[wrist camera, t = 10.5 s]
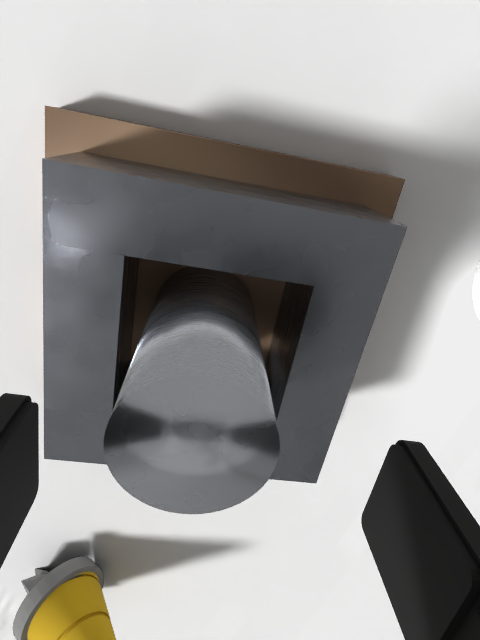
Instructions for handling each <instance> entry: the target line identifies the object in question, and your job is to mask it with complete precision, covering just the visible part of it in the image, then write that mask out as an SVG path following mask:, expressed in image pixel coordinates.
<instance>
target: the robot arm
mask: <svg viewBox="0 0 480 640" xmlns="http://www.w3.org/2000/svg"><path fill="white" fill-rule="evenodd" d="M38 484H39V459H38V404H37V403H33V402H31V398H30V396H25V395H17V394H8V393H5V394H3V395H2V396H1V397H0V568H1V566H2V564H3V562H4V560H5V558H6V556H7V554H8V552H9V550H10V548H11V546H12V544H13V542H14V540H15V538H16V536H17V534H18V532H19V530H20V528H21V526H22V524H23V522H24V520H25V518H26V516H27V514H28V512H29V510H30V508H31V506H32V504H33V502H34V500H35V497H36V494H37V491H38ZM362 528H363V531H364V533H365V536H366V539H367V541H368V544H369V546H370V549H371V552H372V554H373V557H374V560H375V562H376V565H377V567H378V570H379V573H380V575H381V578H382V580H383V583H384V586H385V588H386V591H387V593H388V596H389V599H390V601H391V604H392V607H393V609H394V612H395V614H396V617H397V620H398V622H399V625H400V627H401V630H402V633H403V635H404V638H405V640H480V526H479V524H478V523H477V522H476V520H475V519H474V517H473V516H472V514H471V513H470V511H469V510H468V508H467V507H466V506H465V504H464V503H463V501H462V500H461V498H460V497H459V495H458V494H457V493H456V491H455V490H454V488H453V487H452V485H451V484H450V482H449V481H448V479H447V478H446V477H445V475H444V474H443V472H442V471H441V469H440V468H439V466H438V465H437V463H436V462H435V461H434V459H433V458H432V456H431V455H430V453H429V452H428V450H427V449H426V447H425V446H424V445H423V444H422V443H420V442H414V441H405V440H399V441H398V442H397V443H396V444H395V445H392V446H391V447H390V448H389V451H388V453H387V456H386V458H385V460H384V463H383V465H382V468H381V470H380V472H379V475H378V477H377V480H376V482H375V485H374V487H373V489H372V492H371V494H370V497H369V499H368V502H367V504H366V506H365V509H364V511H363V514H362Z"/></svg>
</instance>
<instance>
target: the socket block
mask: <svg viewBox="0 0 480 640" xmlns="http://www.w3.org/2000/svg"><path fill="white" fill-rule="evenodd" d="M42 173H43V338H44V459H53V460H64V461H75V462H86V463H97V464H107V462H106V459H105V454H104V435H105V430H106V427H107V424H108V422H109V419H110V416H111V414H112V411H113V409H114V406H115V403H116V401H117V398H118V396H119V393H120V390H121V388H122V385H123V383H124V380H125V377H126V375H127V372H128V370H129V367H130V364H131V362H130V357H131V346H132V336H133V325H134V314H135V303H136V292H137V282H138V271H139V260H140V258H142V259H148V260H155V261H161V262H167V263H173V264H180V265H186V266H192V267H198V268H204V269H211V270H217V271H223V272H229V273H236V274H242V275H248V276H254V277H261V278H267V279H273V280H279V281H286V284H285V288H284V292H283V296H282V300H281V304H280V308H279V312H278V316H277V320H276V324H275V328H274V332H273V336H272V340H271V344H270V348H269V352H268V356H267V360H266V364H265V368H266V373H267V378H268V383H269V388H270V393H271V398H272V403H273V408H274V413H275V417H276V422H277V427H278V432H279V439H280V452H279V457H278V462H277V464H276V467H275V469H274V471H273V473H272V475H271V476H270V478H269V479H274V480H285V481H296V482H307V483H316V482H317V479H318V477H319V474H320V471H321V468H322V465H323V462H324V460H325V457H326V454H327V451H328V448H329V446H330V443H331V440H332V437H333V434H334V431H335V429H336V426H337V423H338V420H339V417H340V415H341V412H342V409H343V406H344V403H345V400H346V398H347V395H348V392H349V389H350V386H351V383H352V381H353V378H354V375H355V372H356V369H357V367H358V364H359V361H360V358H361V355H362V352H363V350H364V347H365V344H366V341H367V338H368V336H369V333H370V330H371V327H372V324H373V321H374V319H375V316H376V313H377V310H378V307H379V305H380V302H381V299H382V296H383V293H384V290H385V288H386V285H387V282H388V279H389V276H390V274H391V271H392V268H393V265H394V262H395V259H396V257H397V254H398V251H399V248H400V245H401V242H402V240H403V237H404V234H405V231H406V228H407V227H406V226H404V225H402V224H400V223H398V222H396V221H394V220H392V219H390V218H388V217H386V216H384V215H382V214H380V213H378V212H376V211H374V210H372V209H370V208H368V207H366V206H363V205H358V204H353V203H347V202H342V201H337V200H332V199H327V198H321V197H316V196H311V195H306V194H301V193H295V192H290V191H285V190H280V189H274V188H269V187H264V186H259V185H254V184H248V183H243V182H238V181H233V180H228V179H222V178H217V177H212V176H207V175H202V174H196V173H191V172H186V171H181V170H176V169H170V168H165V167H160V166H155V165H150V164H144V163H139V162H134V161H129V160H123V159H118V158H113V157H108V156H103V155H97V154H92V153H87V152H82V151H81V152H75V153H70V154H64V155H59V156H53V157H48V158H42Z"/></svg>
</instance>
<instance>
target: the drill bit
mask: <svg viewBox="0 0 480 640" xmlns="http://www.w3.org/2000/svg"><path fill="white" fill-rule="evenodd" d="M35 574H36V576H33V577H31V578H28V579H25V580H23V581H21V582H22V584H23V586H24V588H25V590H26V592H27V594H28V595H27V596H26V598H25V599H24V601H23V602H22V604H21V605H20V607H19V609H18V611H17V613H16V616H15V619H14V623H13V634H14V636H15V638H16V639H17V640H116V638H115V634H114V631H113V627H112V624H111V621H110V617H109V613H108V610H107V607H106V603H105V600H104V596H103V593H102V588H103V583H104V575H103V572H102V570H101V569H100V568H99V567H98V566H97V565H96V564H95V563H94V562H93V560H92V559H90V558H88V557H76V558H73V559H70V560H67V561H65V562H64V563H62V564H60V565H58V566H57V567H56V568H54V569H53V570H51V571H50V572H48V571H46V570H40V569H35Z"/></svg>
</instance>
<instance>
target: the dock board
mask: <svg viewBox="0 0 480 640" xmlns="http://www.w3.org/2000/svg"><path fill="white" fill-rule="evenodd" d="M81 151H82V152H87V153H92V154H97V155H103V156H108V157H113V158H118V159H123V160H129V161H134V162H139V163H144V164H150V165H155V166H160V167H165V168H170V169H176V170H181V171H186V172H191V173H196V174H202V175H207V176H212V177H217V178H222V179H228V180H233V181H238V182H243V183H248V184H254V185H259V186H264V187H269V188H274V189H280V190H285V191H290V192H295V193H301V194H306V195H311V196H316V197H321V198H327V199H332V200H337V201H342V202H347V203H353V204H358V205H363V206H366V207H368V208H370V209H372V210H374V211H376V212H378V213H380V214H382V215H384V216H386V217H388V218H390V219H392V217H393V214H394V211H395V208H396V205H397V202H398V199H399V196H400V193H401V190H402V187H403V184H404V181H405V179H401V178H398V177H394V176H390V175H385V174H380V173H375V172H370V171H365V170H360V169H356V168H351V167H346V166H341V165H336V164H331V163H326V162H321V161H317V160H312V159H307V158H302V157H297V156H292V155H287V154H282V153H277V152H273V151H268V150H263V149H258V148H253V147H248V146H243V145H238V144H234V143H229V142H224V141H219V140H214V139H209V138H204V137H199V136H195V135H190V134H185V133H180V132H175V131H170V130H165V129H160V128H155V127H151V126H146V125H141V124H136V123H131V122H126V121H121V120H116V119H112V118H107V117H102V116H97V115H92V114H87V113H82V112H77V111H72V110H68V109H63V108H57V107H50V106H45V158H48V157H53V156H59V155H64V154H70V153H75V152H81ZM185 267H188V266H186V265H180V264H173V263H167V262H161V261H155V260H148V259H142V258H140V260H139V271H138V282H137V292H136V303H135V314H134V325H133V336H132V346H131V357H130V362H132V359H133V357H134V354H135V351H136V349H137V346H138V344H139V341H140V338H141V336H142V333H143V331H144V328H145V325H146V323H147V320H148V318H149V315H150V312H151V310H152V307H153V305H154V302H155V299H156V297H157V294H158V292H159V290H160V288H161V286H162V285H163V283H164V282H165V281H166V280H167V279H168V278H169V277H170V276H171V275H172V274H174V273H175V272H177V271H179V270H180V269H183V268H185ZM233 274H234V275H235V276H237V277H238V278H239V279H240V280H241V281H242V282H243V284H244V285H245V286H246V288H247V290H248V292H249V294H250V296H251V300H252V304H253V309H254V314H255V319H256V324H257V329H258V334H259V339H260V344H261V348H262V353H263V358H264V363H265V364H266V360H267V356H268V352H269V348H270V344H271V340H272V336H273V332H274V328H275V324H276V320H277V316H278V312H279V308H280V304H281V300H282V296H283V292H284V288H285V284H286V281H279V280H273V279H267V278H261V277H254V276H248V275H242V274H236V273H233Z"/></svg>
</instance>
